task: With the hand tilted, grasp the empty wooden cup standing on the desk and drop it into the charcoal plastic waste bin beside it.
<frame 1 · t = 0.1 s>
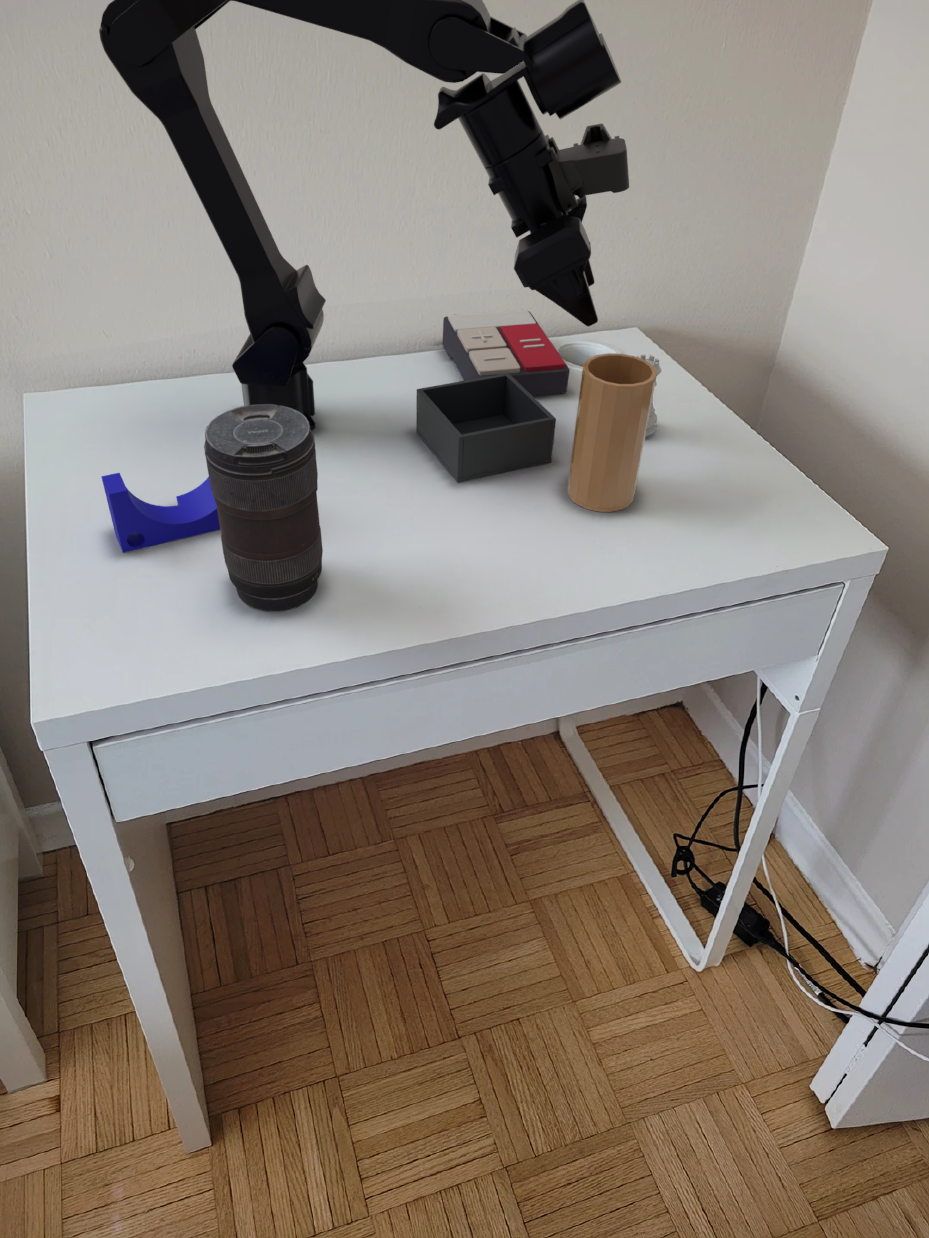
hand: (591, 304, 90), 15 cm above the table, tool tilted 35°, fingers open, 9 cm apart
blue semicircular cradle bracket: (185, 524, 86), on the table
rook chess piece: (634, 431, 102), on the table
bin: (482, 447, 98), on the table
wooden cup: (600, 493, 92), on the table
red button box: (502, 370, 112), on the table
camera lens: (276, 589, 79), on the table
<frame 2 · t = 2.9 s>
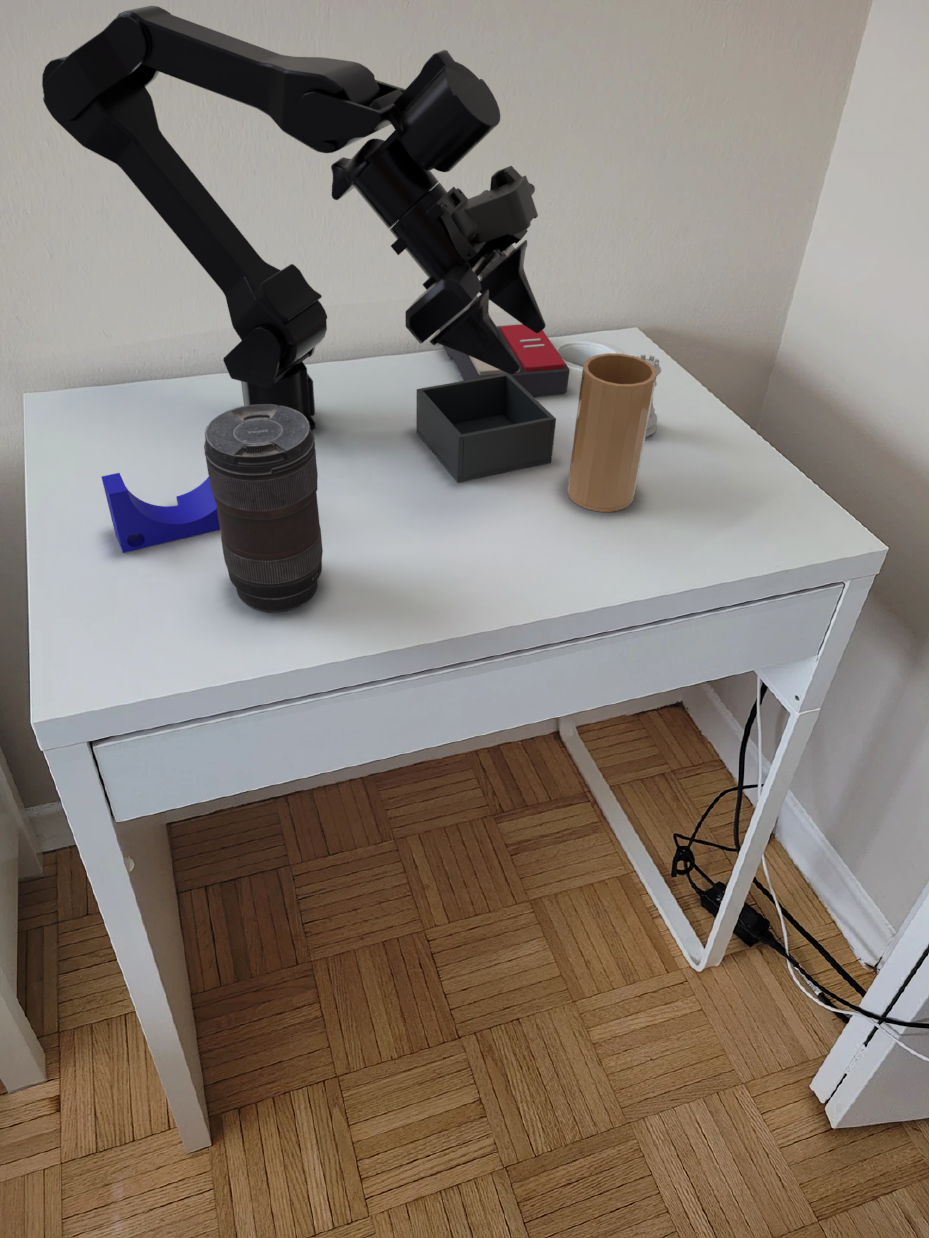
hand: (529, 350, 85), 13 cm above the table, tool tilted 45°, fingers open, 9 cm apart
nothing on the table moved.
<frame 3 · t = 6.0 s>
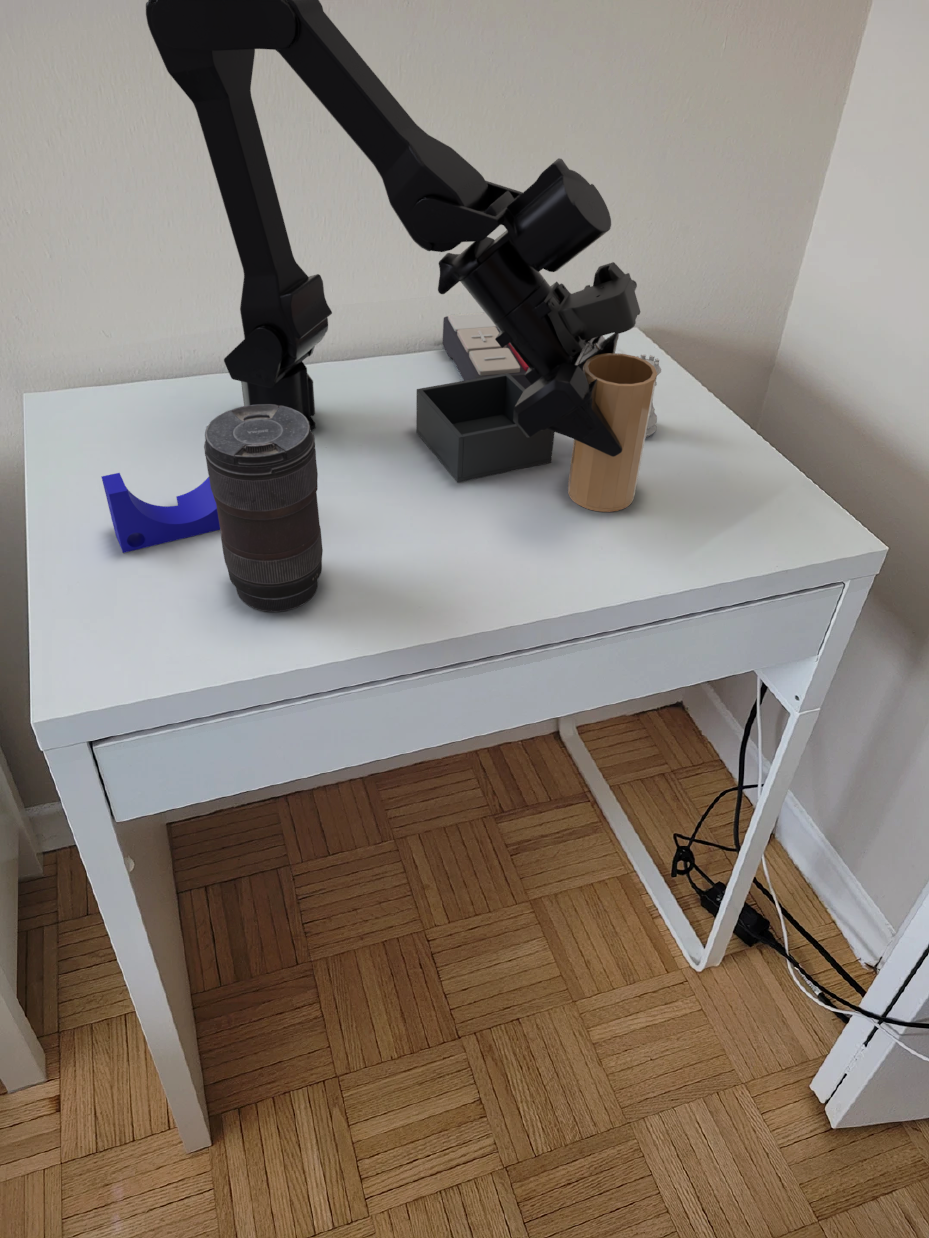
hand: (624, 436, 88), 7 cm above the table, tool tilted 45°, fingers closed on wooden cup, 6 cm apart
wooden cup: (600, 493, 92), on the table, touching gripper
everything else where it was.
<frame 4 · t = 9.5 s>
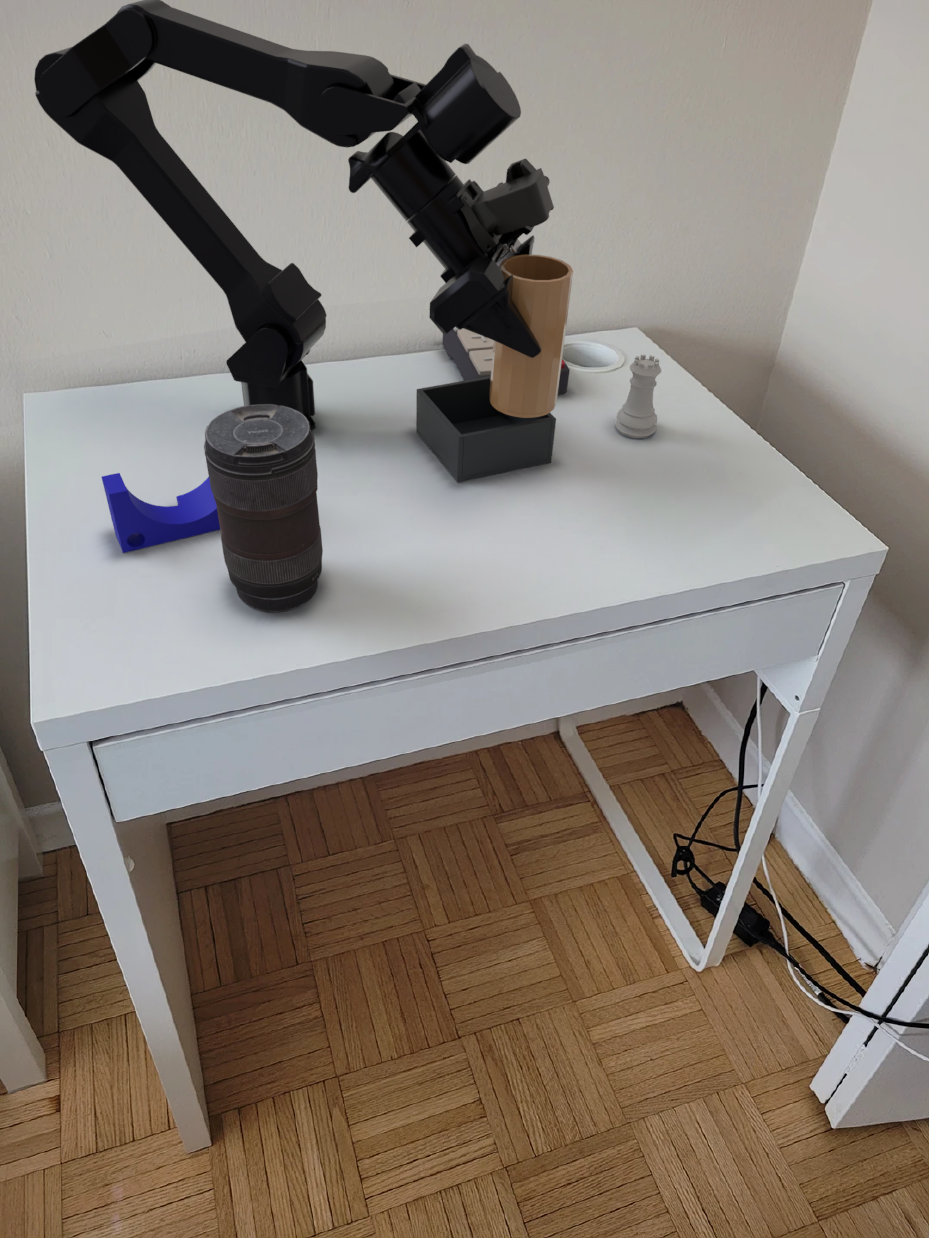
hand: (543, 339, 87), 13 cm above the table, tool tilted 45°, fingers closed on wooden cup, 6 cm apart
wooden cup: (522, 401, 92), point 7 cm above the table, touching gripper
everything else where it was.
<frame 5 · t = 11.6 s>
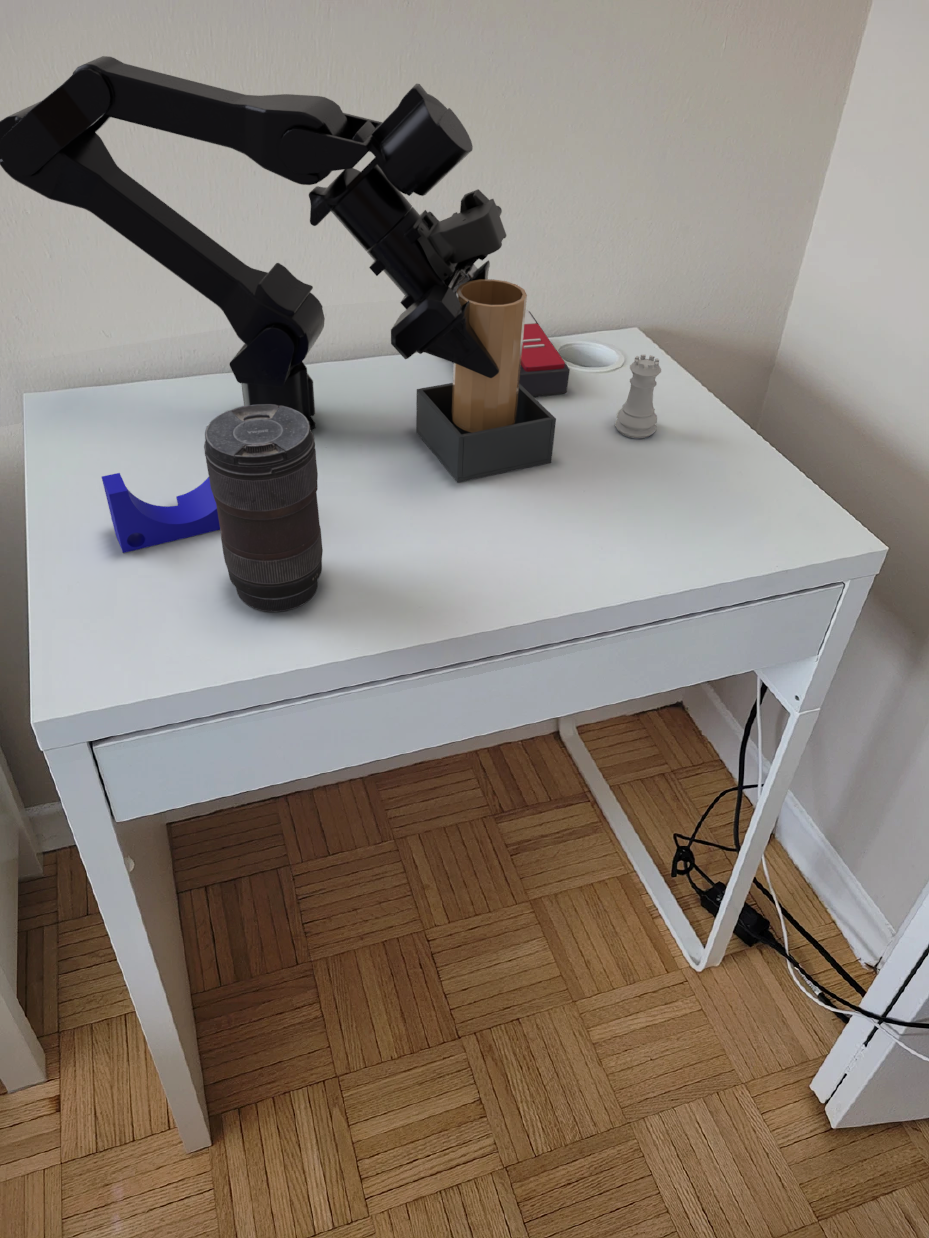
hand: (501, 359, 91), 10 cm above the table, tool tilted 45°, fingers closed on wooden cup, 6 cm apart
wooden cup: (483, 418, 96), point 3 cm above the table, touching gripper
everything else where it was.
when the fingers open (7 cm above the table, at t = 13.0 s): wooden cup stays where it is, resting on bin.
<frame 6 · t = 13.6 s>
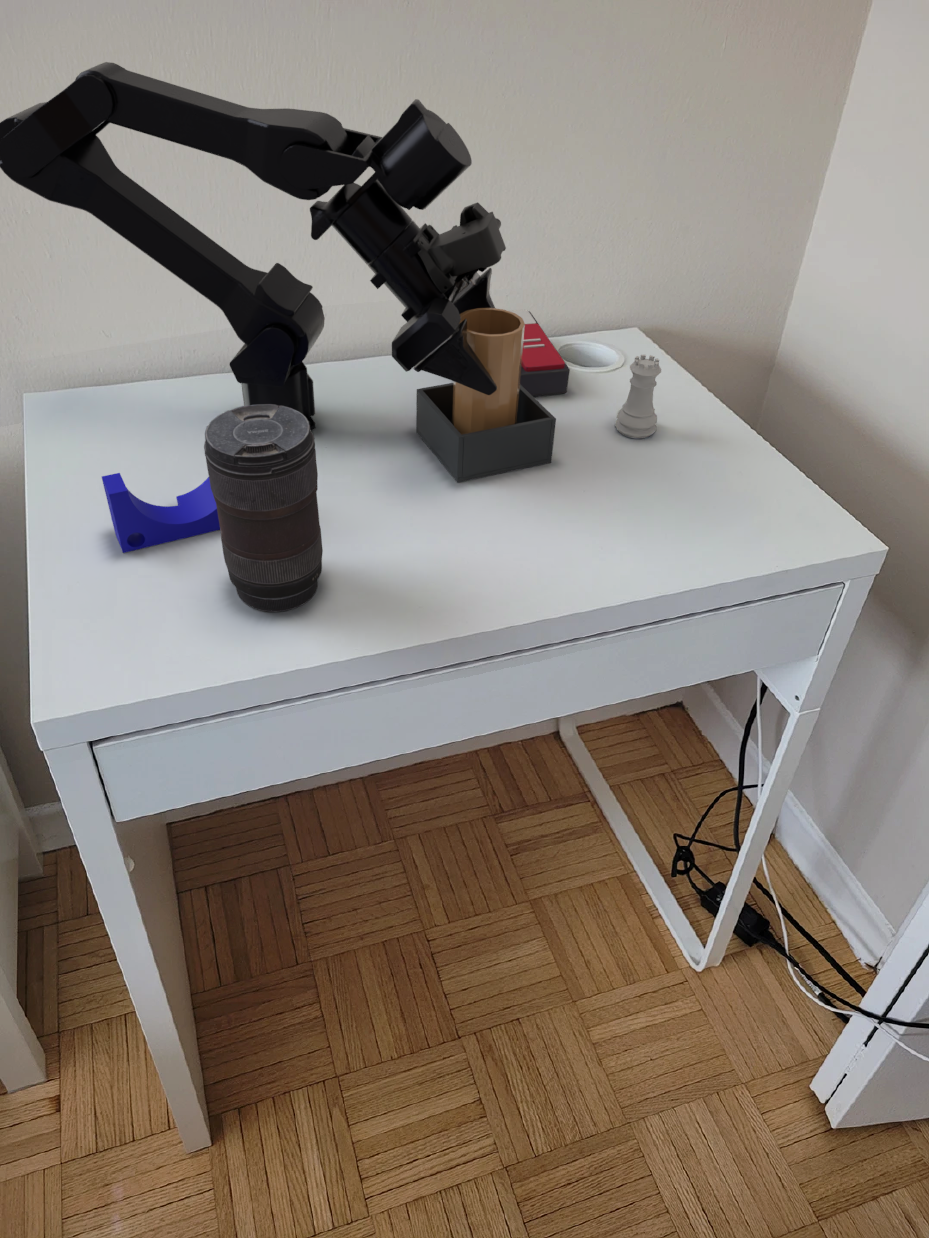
hand: (501, 370, 92), 9 cm above the table, tool tilted 45°, fingers open, 9 cm apart
wooden cup: (483, 443, 98), resting on bin
everything else where it was.
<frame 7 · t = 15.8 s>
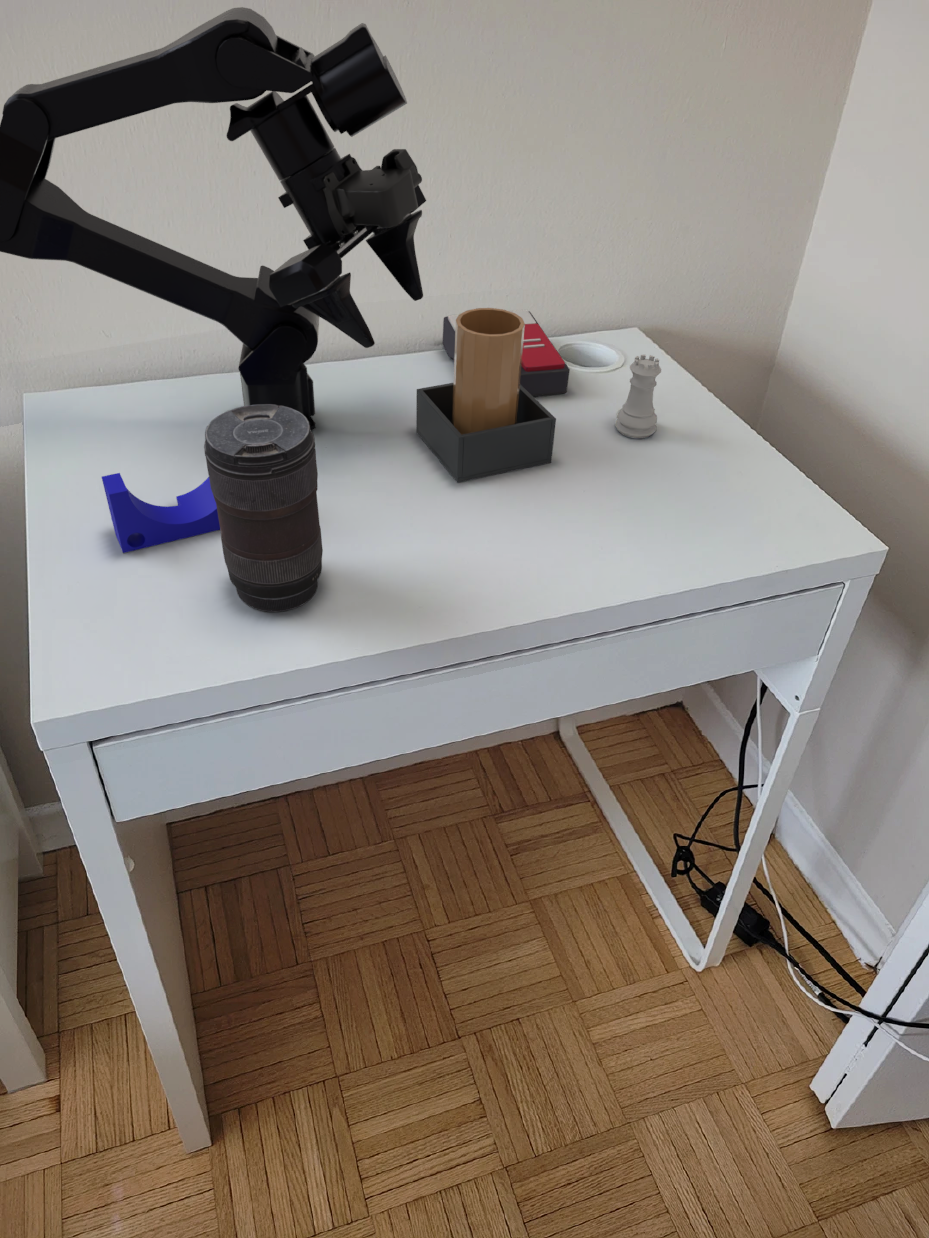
hand: (395, 322, 91), 12 cm above the table, tool tilted 30°, fingers open, 9 cm apart
nothing on the table moved.
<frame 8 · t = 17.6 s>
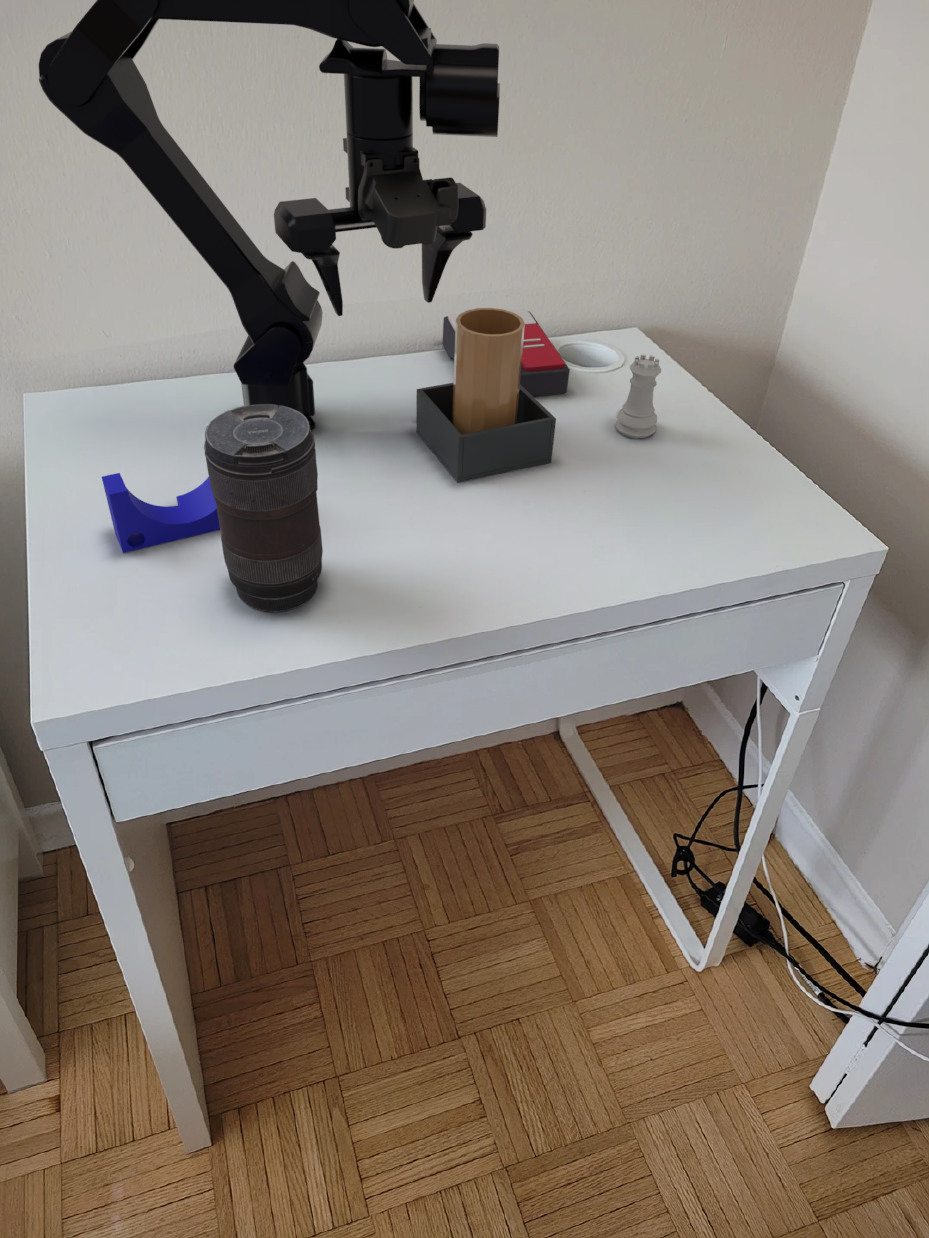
hand: (384, 308, 92), 13 cm above the table, tool pointing down, fingers open, 9 cm apart
nothing on the table moved.
at the end: wooden cup inside the target area in the bin (0.0 cm from its centre), point 0.5 cm above the bin's base; the gripper is holding nothing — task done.
